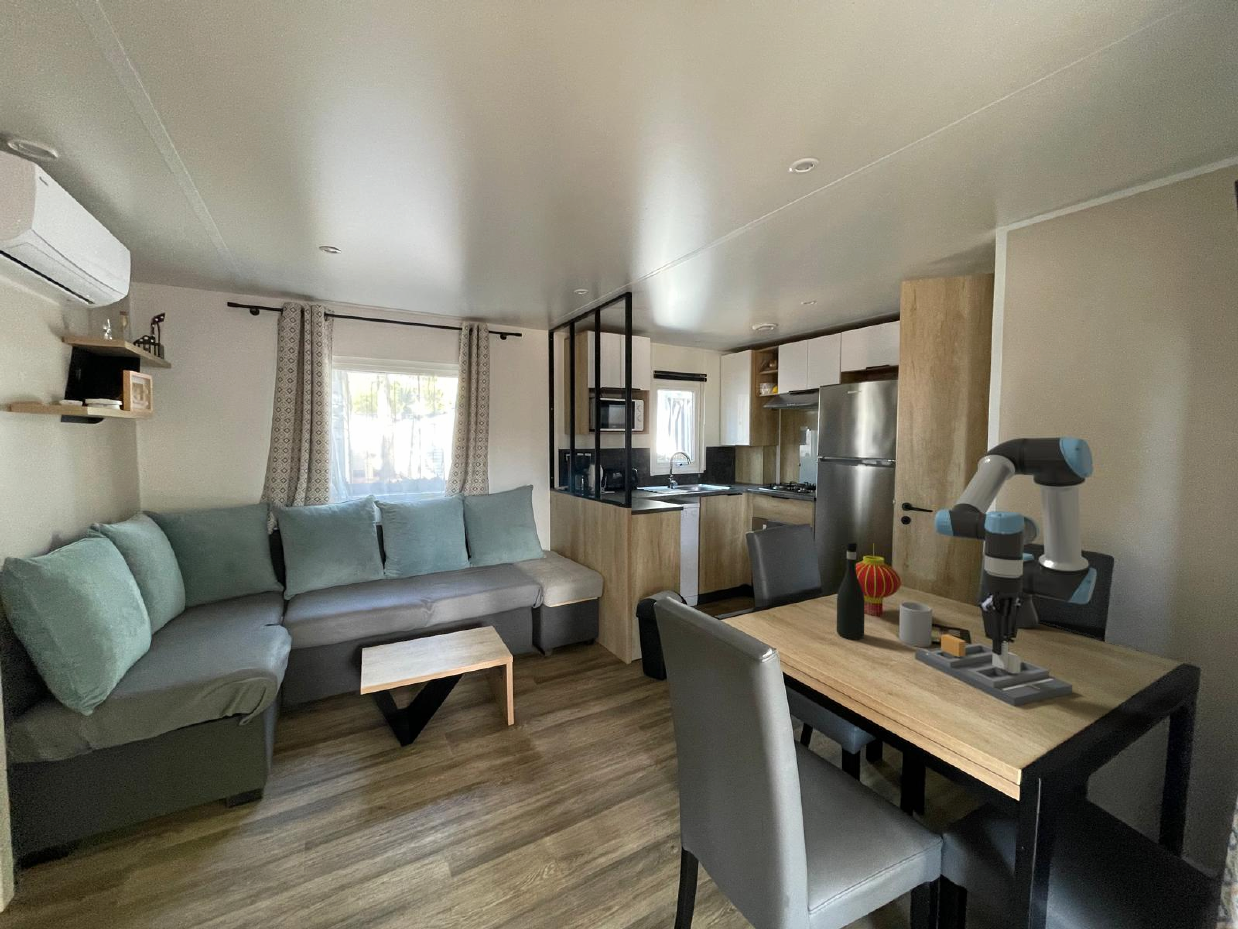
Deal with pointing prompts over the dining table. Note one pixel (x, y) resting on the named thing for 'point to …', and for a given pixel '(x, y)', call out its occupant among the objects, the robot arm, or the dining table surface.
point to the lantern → (876, 582)
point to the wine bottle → (850, 600)
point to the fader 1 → (952, 647)
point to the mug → (915, 624)
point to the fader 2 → (1010, 666)
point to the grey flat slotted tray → (981, 675)
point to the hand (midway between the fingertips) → (1000, 666)
